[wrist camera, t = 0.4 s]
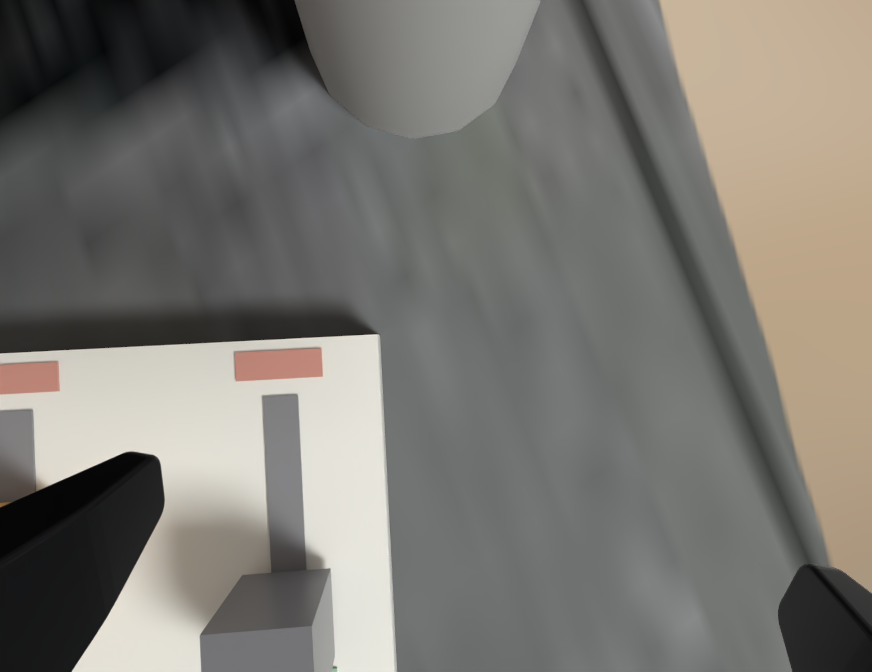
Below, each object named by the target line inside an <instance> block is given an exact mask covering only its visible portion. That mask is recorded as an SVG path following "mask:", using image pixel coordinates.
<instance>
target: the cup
mask: <svg viewBox="0 0 872 672" xmlns="http://www.w3.org/2000/svg"><path fill="white" fill-rule="evenodd" d="M294 1H295V4H296V7H297V10H298V14H299V17H300V20H301V23H302V26H303V30H304V33H305V36H306V39H307V43H308V46H309V49H310V52H311V54H312V57H313V59H314V61H315V63H316V65H317V68H318V70H319V72H320V74H321V77H322V79H323V81H324V83H325V86H326V88H327V90H328V92H329V95H330V96H331V97H333V98H334V99H335V100H336V101H337V102H338V103H340V104H341V105H342V106H343V107H344V108H345V109H347V110H348V111H349V112H350V113H351V114H352V115H354V116H355V117H356V118H357V119H358V120H359V121H361V122H362V123H363V124H364V125H365V126H367V127H371V128H375V129H378V130H382V131H385V132H389V133H393V134H396V135H400V136H403V137H407V138H411V139H414V138H420V137H425V136H431V135H437V134H443V133H448V132H454V131H458V130H460V129H461V128H462V127H464V126H465V125H466V124H468V123H469V122H471V121H472V120H473V119H475V118H476V117H477V116H479V115H480V114H482V113H483V112H484V111H486V110H487V109H488V108H490V107H491V106H493V105H494V104H495V103H496V101H497V99H498V97H499V95H500V93H501V91H502V89H503V87H504V85H505V83H506V81H507V80H508V78H509V76H510V74H511V72H512V70H513V68H514V66H515V64H516V62H517V59H518V57H519V54H520V52H521V49H522V47H523V44H524V42H525V39H526V37H527V34H528V32H529V29H530V26H531V24H532V21H533V19H534V16H535V14H536V11H537V9H538V6H539V4H540V1H541V0H294Z"/></svg>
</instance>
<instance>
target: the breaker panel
mask: <svg viewBox="0 0 872 672" xmlns="http://www.w3.org/2000/svg"><path fill="white" fill-rule="evenodd" d="M129 451H134V452H140V453H146V454H152V455H155V456H157V457H158V459H159V460H160V463H161V470H162V478H163V486H164V495H165V505H164V510H163V513H162V515H161V518H160V520H159V522H158V523H157V525H156V527H155V529H154V531H153V533H152V535H151V537H150V539H149V540H148V542H147V544H146V546H145V548H144V550H143V552H142V554H141V555H140V557H139V559H138V561H137V563H136V565H135V567H134V569H133V571H132V572H131V574H130V576H129V578H128V580H127V582H126V584H125V586H124V588H123V589H122V591H121V593H120V595H119V597H118V599H117V601H116V602H115V604H114V606H113V608H112V610H111V611H110V613H109V615H108V617H107V618H106V620H105V621H104V623H103V625H102V626H101V628H100V629H99V631H98V632H97V634H96V636H95V637H94V639H93V640H92V642H91V643H90V645H89V646H88V648H87V649H86V651H85V652H84V654H83V655H82V657H81V658H80V660H79V661H78V663H77V664H76V666H75V667H74V669H73V670H72V672H201V657H200V634H201V633H202V631H203V630H204V628H205V627H206V626H207V624H208V623H209V621H210V620H211V618H212V617H213V616H214V614H215V613H216V611H217V610H218V609H219V607H220V606H221V604H222V603H223V602H224V600H225V599H226V597H227V596H228V594H229V593H230V592H231V590H232V589H233V587H234V586H235V585H236V583H237V582H238V580H239V579H240V578H241V576H242V575H249V574H262V573H275V572H288V571H301V570H314V569H327V568H331V583H332V604H333V625H334V645H335V658H334V663H333V667H332V672H397V662H396V643H395V623H394V603H393V584H392V564H391V544H390V524H389V505H388V485H387V465H386V445H385V426H384V406H383V386H382V367H381V347H380V335H378V334H374V335H354V336H335V337H315V338H295V339H276V340H256V341H237V342H217V343H197V344H178V345H158V346H139V347H119V348H99V349H80V350H60V351H41V352H21V353H1V354H0V503H6V502H13V501H15V500H17V499H20V498H22V497H24V496H27V495H29V494H31V493H33V492H36V491H38V490H40V489H42V488H45V487H47V486H49V485H52V484H54V483H56V482H58V481H61V480H63V479H65V478H68V477H70V476H72V475H74V474H77V473H79V472H81V471H83V470H86V469H88V468H90V467H93V466H95V465H97V464H99V463H102V462H104V461H106V460H108V459H111V458H113V457H115V456H118V455H120V454H122V453H125V452H129Z"/></svg>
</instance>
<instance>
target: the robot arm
mask: <svg viewBox="0 0 872 672" xmlns="http://www.w3.org/2000/svg"><path fill="white" fill-rule="evenodd" d="M164 505H165V495H164V486H163V478H162V470H161V463H160V460H159V459H158V457H157V456H155V455H152V454H146V453H140V452H134V451H129V452H125V453H122V454H120V455H118V456H115V457H113V458H111V459H108V460H106V461H104V462H102V463H99V464H97V465H95V466H93V467H90V468H88V469H86V470H83V471H81V472H79V473H77V474H74V475H72V476H70V477H68V478H65V479H63V480H61V481H58V482H56V483H54V484H52V485H49V486H47V487H45V488H42V489H40V490H38V491H36V492H33V493H31V494H29V495H27V496H24V497H22V498H20V499H17V500H15V501H13V502H11V503H8V504H6V505H4V506H2V507H0V672H72V670H73V669H74V667H75V666H76V664H77V663H78V661H79V660H80V658H81V657H82V655H83V654H84V652H85V651H86V649H87V648H88V646H89V645H90V643H91V642H92V640H93V639H94V637H95V636H96V634H97V632H98V631H99V629H100V628H101V626H102V625H103V623H104V621H105V620H106V618H107V617H108V615H109V613H110V611H111V610H112V608H113V606H114V604H115V602H116V601H117V599H118V597H119V595H120V593H121V591H122V589H123V588H124V586H125V584H126V582H127V580H128V578H129V576H130V574H131V572H132V571H133V569H134V567H135V565H136V563H137V561H138V559H139V557H140V555H141V554H142V552H143V550H144V548H145V546H146V544H147V542H148V540H149V539H150V537H151V535H152V533H153V531H154V529H155V527H156V525H157V523H158V522H159V520H160V518H161V515H162V513H163V510H164ZM778 619H779V625H780V629H781V632H782V636H783V639H784V643H785V647H786V650H787V654H788V657H789V661H790V664H791V668H792V672H872V593H870V592H869V591H868V590H867V589H865V588H864V587H863V586H861V585H860V584H858V583H857V582H856V581H855V580H853V579H852V578H851V577H849V576H848V575H847V574H846V573H844V572H843V571H841V570H839V569H837V568H834V567H828V566H822V565H816V564H805V565H803V566H801V567H800V568H799V569H798V571H797V573H796V574H795V576H794V578H793V580H792V582H791V584H790V586H789V587H788V589H787V591H786V593H785V595H784V597H783V598H782V600H781V602H780V605H779V609H778Z"/></svg>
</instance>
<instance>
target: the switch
mask: <svg viewBox="0 0 872 672" xmlns="http://www.w3.org/2000/svg"><path fill="white" fill-rule="evenodd" d="M200 657H201V672H332V667H333V663H334V658H335V645H334V625H333V604H332V583H331V568H327V569H314V570H301V571H288V572H275V573H262V574H249V575H242V576H241V578H240V579H239V580H238V582H237V583H236V585H235V586H234V587H233V589H232V590H231V592H230V593H229V594H228V596H227V597H226V599H225V600H224V602H223V603H222V604H221V606H220V607H219V609H218V610H217V611H216V613H215V614H214V616H213V617H212V618H211V620H210V621H209V623H208V624H207V626H206V627H205V628H204V630H203V631H202V633H201V634H200Z"/></svg>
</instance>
